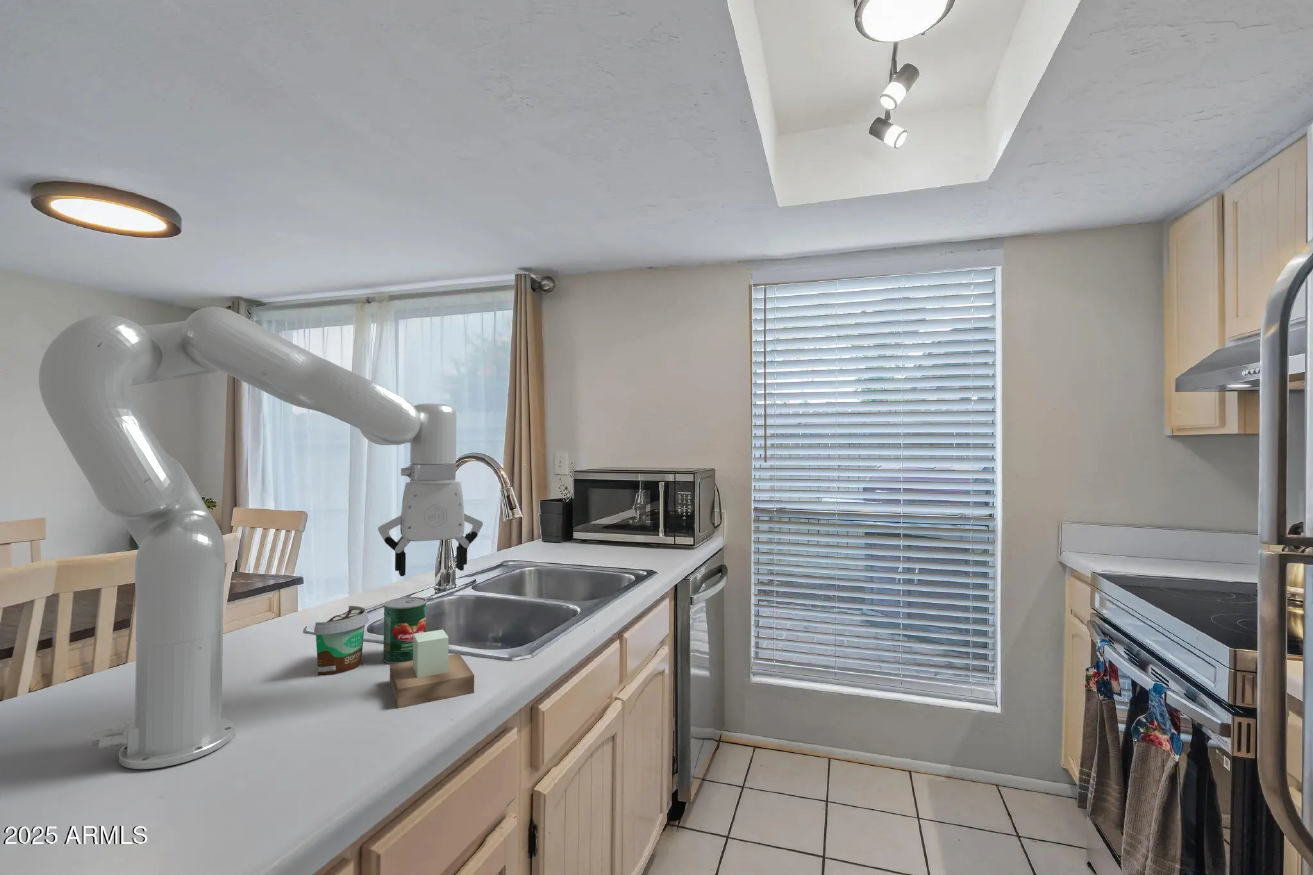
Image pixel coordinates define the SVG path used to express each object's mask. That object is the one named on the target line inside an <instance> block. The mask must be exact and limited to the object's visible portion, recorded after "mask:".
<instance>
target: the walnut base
mask: <svg viewBox="0 0 1313 875" xmlns="http://www.w3.org/2000/svg"><path fill="white" fill-rule="evenodd" d="M389 683H390V687H391V690H392V694H393V696H394V700H395V703H396V705H397V709H401V708H405V707H410V706H415V705H420V704H424V703H425V704H426V703H430V702H435V701H439V700H444V699H449V698H453V697H454V698H455V697H460V696H465V695H468V694H470V695H471V694H475V674H474V673H473V671H472V670H471V668H470V667H469V665H468V664H467V663H466V661H465V660H464V658H463V656H462V655H461V653H454V654H448V672H447V673H441V674H436V675H430V676H425V677H419V678H417V676H416V673H415V671H414V669H413V661H411V662H405V663H399V664H389Z"/></svg>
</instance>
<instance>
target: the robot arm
mask: <svg viewBox="0 0 1313 875" xmlns="http://www.w3.org/2000/svg"><path fill="white" fill-rule="evenodd" d="M38 371H39V372H38V385H39V392H40V395H41V400H42V402H43V404H44V407H45V409H46V411H47V414H48V415H49V417H50V419H51V420H52V422H53V424H54V426H55V427H56V429H57V431H58V432H59V434H60V436H61V438H62V439H63V441H64V442H65V444H66V446H67V449H68V450H69V452H70V454H71V456H72V457H73V459H74V460H75V462H76V464H77V465H78V467H79V468H80V471H81V472H82V473H83V475H84V476H85V478H86V480H87V482H88V483H89V485H90V486H91V488H92V490H93V492H94V495H95V496H96V499H97V500H98V501H99V503H100V505H101V506H102V507H103V508H104V509H105V510H106V511H108V512H109V513H110V514H112V515H114V516H117V517H119V518H120V519H121V521H122V522H123V524H124V526H125V527H126V529H127V530H128V532H129V534H130V535H131V537H132V538H133V540H134V541H135V543H136V544H137V545H138V548H137V553H136V556H135V561H134V562H135V564H134V584H135V585H134V586H135V588H134V589H135V680H134V681H135V686H134V687H135V690H134V691H135V693H134V696H135V697H134V719H133V720H132V721H127V722H124V725H120V726H115V727H112V726H109V727H106V728H105V727H104V728H100V729H99V728H98V729H94V730H93V732H92V735H91V736H92V737H91V745H92V746H97V745H98V750H104V749H105V750H106V749H109V748H113V747H117V746H122V747H121V748H120V750H119V751H118V763H119V764H120V765H121V766H122V767H124V768H128V769H133V770H153V769H154V770H155V769H160V768H166V767H171V766H175V765H180V764H183V763H186V762H190V761H194V760H196V759H199V758H201V757H203V756H206V755H208V754H211V753H213V752H214V751H216V750H219V749H220V748H222V747H223V746H225V745H226V744H227V743H229V741H231V739H232V738H233V737H234V736H235V732H236V730H235V729H236V728H235V727H236V726H235V723H234V721H232V720H231V719H229V718H224V717H223V716H222V715H223V714H222V713H223V712H222V710H223V661H224V660H223V656H224V655H223V653H224V652H223V649H224V648H223V647H224V645H223V644H224V639H223V638H224V590H225V586H224V585H225V572H226V571H225V569H226V548H225V540H224V537H223V533H222V531H221V529H220V527H219V526H218V524H217V522H216V520H215V518H214V517H213V515H212V514H211V512H210V510H209V508H208V507H207V505H206V504H205V501H204V500H203V499H202V496H201V495H200V493H199V491H198V490H197V488H196V486H195V485H194V484H193V482H192V480H191V478H190V476H189V475H188V473H187V472H186V469H185V468H184V467H183V466H182V464H181V463H180V462H179V461H178V460H177V459H176V458H175V457H173V456H172V455H171V454H170V455H169V454H168V453H167V452H166V450H165V449H164V447H163V445H162V444H161V443H160V441H159V439H158V438H157V436H156V435H155V433H154V432H153V430H152V428H151V427H150V425H149V422H148V420H147V418H146V417H145V415H144V413H143V412H142V411H141V408H140V407H139V405H138V404H137V401H136V400H135V398H134V396H133V393H132V386H141V385H146V384H154V383H159V382H165V381H171V380H179V379H184V378H191V377H197V376H199V377H200V376H204V375H208V374H213V373H214V374H215V373H220V372H222V373H225V374H227V375H229V376H231V377H233V378H235V379H237V380H239V381H242V383H246V384H247V385H250V386H252V387H253V388H256V389H257V390H260V391H262V392H264V393H266V394H268V395H270V396H272V397H274V398H276V399H279V401H282V402H285V403H286V404H289V405H292V406H295V407H298V408H303V409H305V410H306V409H307V410H310V411H311V410H312V411H315V412H318V413H322V414H324V415H327V416H330V417H332V418H335V419H337V420H339V421H342V422H344V423H346V424H348V425H350V426H352V427H354V428H356V429H358V430H359V431H360V433H361V434H362V436H363V437H364V438H365V439H366V440H367V441H369V442H371V443H373V444H376V445H379V446H401V445H404V444H406V443H407V444H408V443H409V445H410V447H409V448H410V450H409V453H410V457H409V464H408V466H406V467H402V468H400V476H401V477H404V476H405V477H407V478H408V479H409V482H407V481H406V482H405V485H404V490H403V495H402V502H401V513H400V515H398V516H397V517H394V518H393V519H392V518H391V520H389V521H387V522H385V523H382V524H381V525H379V526H378V527H377V531H378V532H379V535H380V536H381V538H382V540H383V542H384V543H385V544H386V545H387V546H388V547H390V549H391V550H392V551H394V570H395V572H398V574H399V576H400V577H405V576H406V566H407V565H406V563H407V562H406V561H407V560H406V558H407V553H406V551H405V548H406V547H407V546H408V545H409V544H410V542H427V541H428V542H429V541H430V542H431V541H442V540H443V541H444V540H455V541H456V542H457V543H458V545H457V546H456V551H455V552H456V553H455V554H456V555H455V557H456V559H455V565H456V566H455V567H456V569H457V570H459V571H460V572H461V571H464V570H465V566H466V565H467V564H468V548H469V547H470V545H471V544H472V543H473V542H474V541H475V540H476V538H478V535H479V533H480V531H481V530H482V528H483V526H484V525H483V524H484V523H483V521H482V520H480V519H478V518H475V517H472V516H471V515H468V514H466V513H465V508H464V506H465V504H464V497H463V496H464V495H463V488H462V484H461V483H462V482H461V481H457V480H456V479H457V478H456V474H457V473H456V469H457V411H456V409H455V408H454V406H452V405H450V404H444V403H419V404H415V405H413V404H412V402H410V401H409V400H407V399H405V398H404V397H402V396H400V395H399V394H396V393H395V392H393V391H390V390H389V389H387V388H385V387H384V386H381V385H379V384H377V383H376V382H374V381H372V380H370V379H368V378H366V377H364V376H362V375H360V374H357V373H356V372H353V371H351V370H349V369H347V368H344V367H343V366H340V365H338V364H336V363H334V362H332V361H330V360H327V359H326V358H322V357H320V356H319V355H317V354H314V353H312V352H311V351H309V350H306V349H305V348H303V347H301V346H300V345H298V344H294V343H293V342H291V341H289V340H287V338H284V337H282V336H281V335H279V334H277V333H276V332H275V333H274V332H273V331H271V330H269V329H267V328H266V327H263V326H262V325H261V324H258V323H257V322H254V321H252V320H251V319H249V318H247V317H246V316H243V315H241V314H239V313H237V312H235V311H233V310H232V309H228V308H225V307H220V306H207V307H203V308H200V309H198V310H196V311H194V312H192V313H191V314H190V315H189V316H188V317H187V318H186V320H182V321H174V322H167V323H158V324H149V325H148V324H147V325H139V323H136V322H135V321H133V320H131V319H128V318H125V317H123V316H119V315H113V314H96V315H90V316H87V317H83V318H81V319H79V320H76V321H75V322H73V323H71V324H70V325H68V326H67V327H65V329H63V330H62V331H61V332H59V334H57V335H56V337H55V338H54V339H53V340H51V342H50V343H49V345H48V347H47V348H46V350H45V351H44V354H43V357H42V358H41V362H40V365H39V370H38ZM465 523H467V524H470V525H471V529H470V531H469V532H468V533H467V534H466V535H465V536H464V534H465ZM398 526H400V535H401V537H400V538H399V539H398V540H397V541H396V540H395V539H394V538H392V536H391V534H390V531H391V530H392V529H395V528H397V527H398Z"/></svg>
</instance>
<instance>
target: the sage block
mask: <svg viewBox="0 0 1313 875" xmlns="http://www.w3.org/2000/svg"><path fill="white" fill-rule="evenodd" d="M449 640H450V637H449V636H448V634H447V632H445V630H444V629H437V630H431V631H426V632H423V633H416V634H413V669H414V671H415V673H416V676H417V678H419V677H425V676H430V675H436V674H441V673H447V672H448V655H449V645H450V644H449Z"/></svg>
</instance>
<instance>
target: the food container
mask: <svg viewBox="0 0 1313 875" xmlns="http://www.w3.org/2000/svg"><path fill="white" fill-rule="evenodd" d="M369 620H370V619H369V616H368V612H367V610H366V608H365V607H363V606H359V605H348V610H347V611H345V612H343V613H341V614H337V615H334V616H332V617H330V619H328V620H327V621H323V622H318V621H317V622H315V626H314V629H313V635H315V643H316V662H317V663H316V664H317V666H316V667H317V677H321V676H324V677H325V676H333V675H337V674H338V675H339V674H344V673H347V672H350V671H353V670H354V669H356V668H359V666H361V664H362V658H363V648H364V646H363V645H364V637H365V626H366V625H367V624H368V623H369Z"/></svg>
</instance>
